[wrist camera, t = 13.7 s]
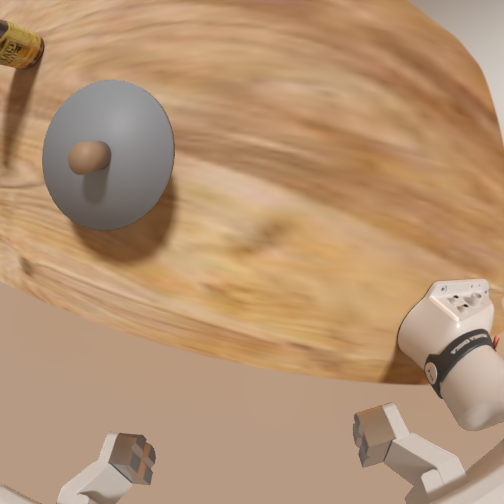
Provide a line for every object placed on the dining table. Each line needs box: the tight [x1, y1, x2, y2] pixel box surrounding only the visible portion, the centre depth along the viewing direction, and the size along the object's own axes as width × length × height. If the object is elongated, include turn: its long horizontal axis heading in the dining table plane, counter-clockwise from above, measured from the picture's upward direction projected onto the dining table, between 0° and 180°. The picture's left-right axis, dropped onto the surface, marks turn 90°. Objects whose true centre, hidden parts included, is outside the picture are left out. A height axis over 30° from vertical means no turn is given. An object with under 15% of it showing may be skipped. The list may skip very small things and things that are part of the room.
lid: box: [42, 80, 175, 231], centre depth 26 cm, size 17×17×5 cm
